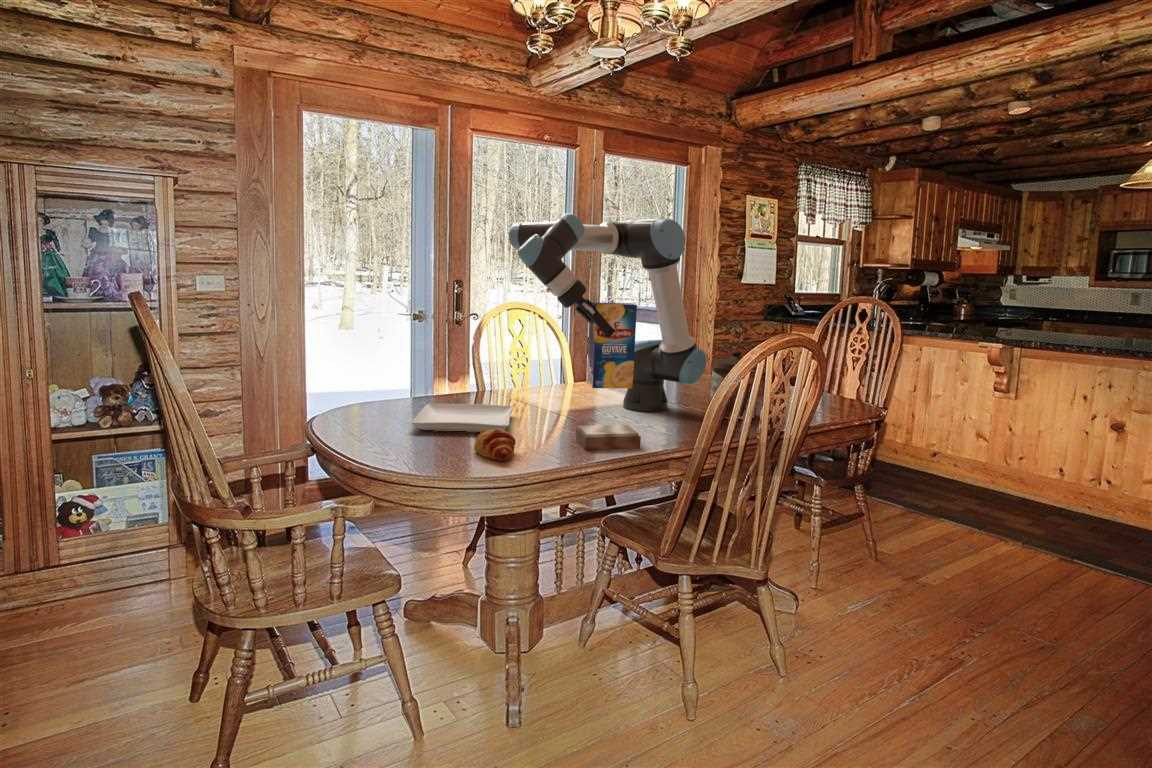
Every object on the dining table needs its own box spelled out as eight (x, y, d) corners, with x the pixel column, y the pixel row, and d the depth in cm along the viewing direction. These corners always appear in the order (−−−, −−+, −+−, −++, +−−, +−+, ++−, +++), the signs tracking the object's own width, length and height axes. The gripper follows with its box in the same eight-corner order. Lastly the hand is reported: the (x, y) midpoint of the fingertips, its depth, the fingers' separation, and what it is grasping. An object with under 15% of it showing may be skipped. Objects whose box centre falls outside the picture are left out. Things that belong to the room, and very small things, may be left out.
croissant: (474, 456, 190) (460, 431, 188) (507, 437, 192) (493, 412, 190) (495, 478, 170) (479, 450, 168) (531, 456, 173) (516, 428, 171)
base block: (628, 438, 200) (628, 424, 200) (640, 448, 190) (640, 433, 189) (575, 439, 197) (576, 425, 196) (585, 449, 186) (585, 434, 186)
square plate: (410, 434, 198) (410, 421, 198) (427, 414, 225) (427, 402, 225) (508, 437, 199) (508, 423, 199) (513, 416, 226) (514, 404, 226)
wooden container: (704, 410, 242) (708, 346, 238) (747, 411, 243) (751, 347, 239) (715, 420, 227) (720, 351, 224) (761, 421, 228) (766, 352, 225)
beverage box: (632, 388, 189) (637, 304, 186) (592, 388, 187) (596, 303, 183) (625, 384, 196) (629, 303, 192) (586, 384, 193) (589, 302, 190)
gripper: (550, 296, 191) (608, 358, 198) (561, 299, 177) (623, 366, 183) (571, 277, 192) (627, 340, 198) (583, 278, 178) (643, 346, 184)
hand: (625, 352), depth 191 cm, fingers closed on beverage box, 2 cm apart
